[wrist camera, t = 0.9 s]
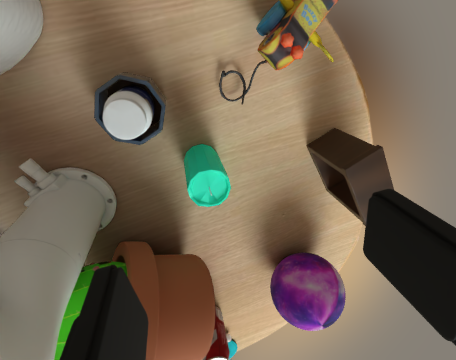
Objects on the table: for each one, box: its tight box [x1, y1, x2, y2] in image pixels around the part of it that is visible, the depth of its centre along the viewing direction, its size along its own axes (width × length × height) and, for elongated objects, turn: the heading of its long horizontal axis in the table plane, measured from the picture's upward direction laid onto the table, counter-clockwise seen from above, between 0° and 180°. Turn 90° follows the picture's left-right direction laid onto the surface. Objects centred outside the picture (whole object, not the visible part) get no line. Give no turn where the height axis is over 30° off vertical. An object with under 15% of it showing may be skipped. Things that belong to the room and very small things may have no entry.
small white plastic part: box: [226, 334, 232, 342], centre depth 65 cm, size 4×6×3 cm, turn 61°
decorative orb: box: [270, 253, 345, 331], centre depth 53 cm, size 15×15×15 cm
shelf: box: [307, 128, 394, 226], centre depth 44 cm, size 13×6×12 cm, turn 31°
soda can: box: [202, 307, 230, 360], centre depth 56 cm, size 7×7×12 cm
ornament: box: [228, 340, 237, 360], centre depth 68 cm, size 11×4×10 cm
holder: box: [94, 72, 166, 145], centre depth 35 cm, size 9×9×5 cm
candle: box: [184, 144, 231, 207], centre depth 38 cm, size 6×6×12 cm
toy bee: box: [219, 0, 338, 104], centre depth 32 cm, size 21×14×11 cm, turn 159°
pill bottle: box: [103, 86, 155, 140], centre depth 33 cm, size 6×6×10 cm
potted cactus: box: [54, 241, 215, 360], centre depth 40 cm, size 22×22×25 cm
